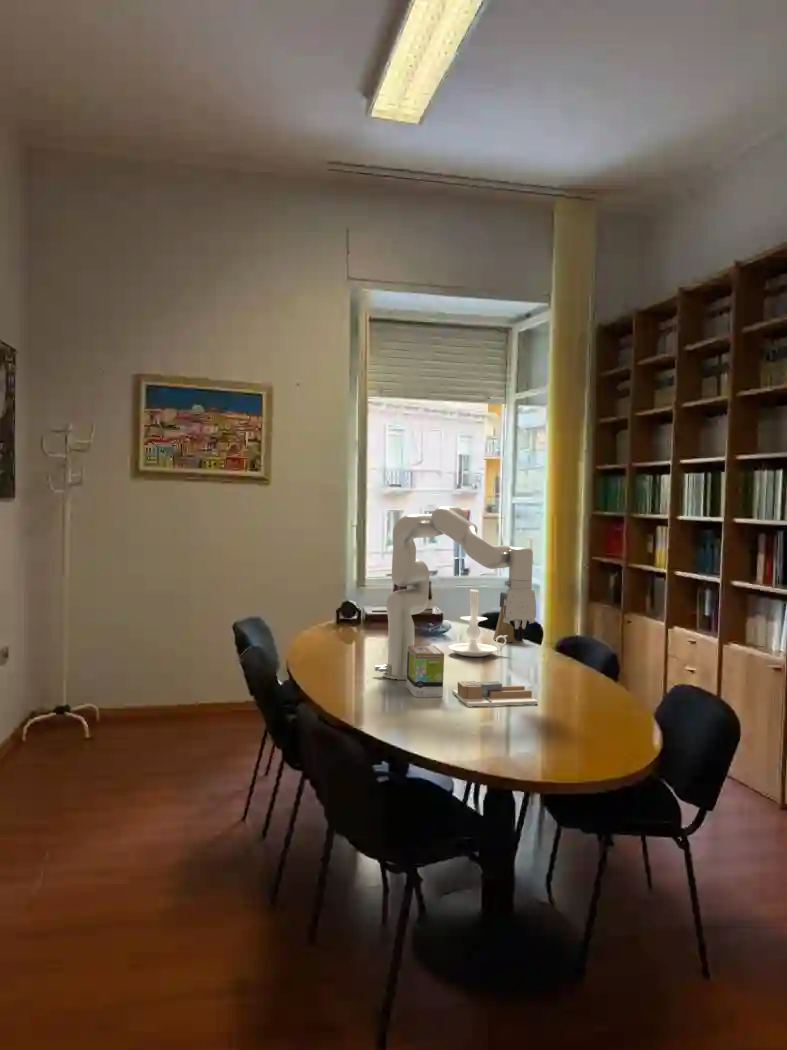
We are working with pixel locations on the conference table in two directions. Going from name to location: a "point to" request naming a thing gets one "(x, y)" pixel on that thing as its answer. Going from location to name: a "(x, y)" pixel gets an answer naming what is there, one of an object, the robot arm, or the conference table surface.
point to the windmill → (504, 625)
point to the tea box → (425, 671)
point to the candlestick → (475, 632)
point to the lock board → (493, 695)
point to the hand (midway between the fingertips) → (518, 640)
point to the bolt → (486, 686)
